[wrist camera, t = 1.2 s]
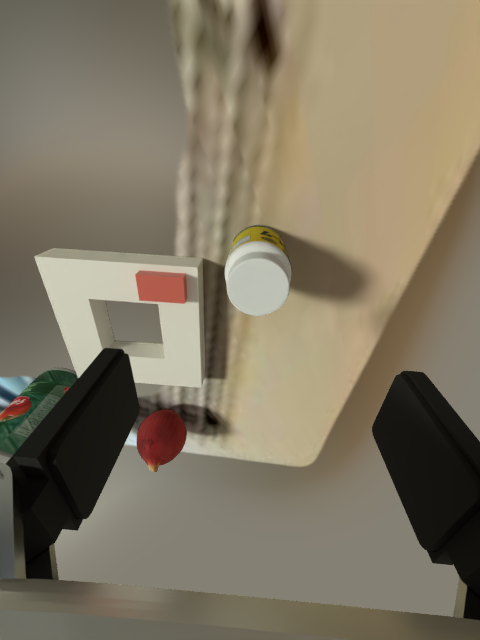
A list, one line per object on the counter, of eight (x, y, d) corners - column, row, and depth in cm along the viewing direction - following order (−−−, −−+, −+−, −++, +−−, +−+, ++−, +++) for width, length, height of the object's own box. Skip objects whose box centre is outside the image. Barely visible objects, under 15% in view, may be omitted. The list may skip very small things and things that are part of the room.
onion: (147, 420, 37) (123, 479, 30) (150, 391, 34) (123, 450, 27) (189, 428, 37) (173, 488, 30) (195, 401, 34) (179, 460, 28)
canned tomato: (36, 359, 32) (-55, 442, 23) (101, 377, 33) (39, 464, 24) (39, 401, 36) (-37, 486, 27) (98, 416, 37) (44, 503, 28)
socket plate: (53, 248, 25) (25, 260, 22) (202, 258, 24) (195, 271, 21) (90, 363, 32) (72, 384, 29) (205, 372, 32) (200, 394, 29)
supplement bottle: (295, 253, 24) (311, 294, 17) (254, 285, 26) (253, 334, 18) (261, 210, 22) (263, 235, 15) (220, 247, 24) (204, 285, 17)
